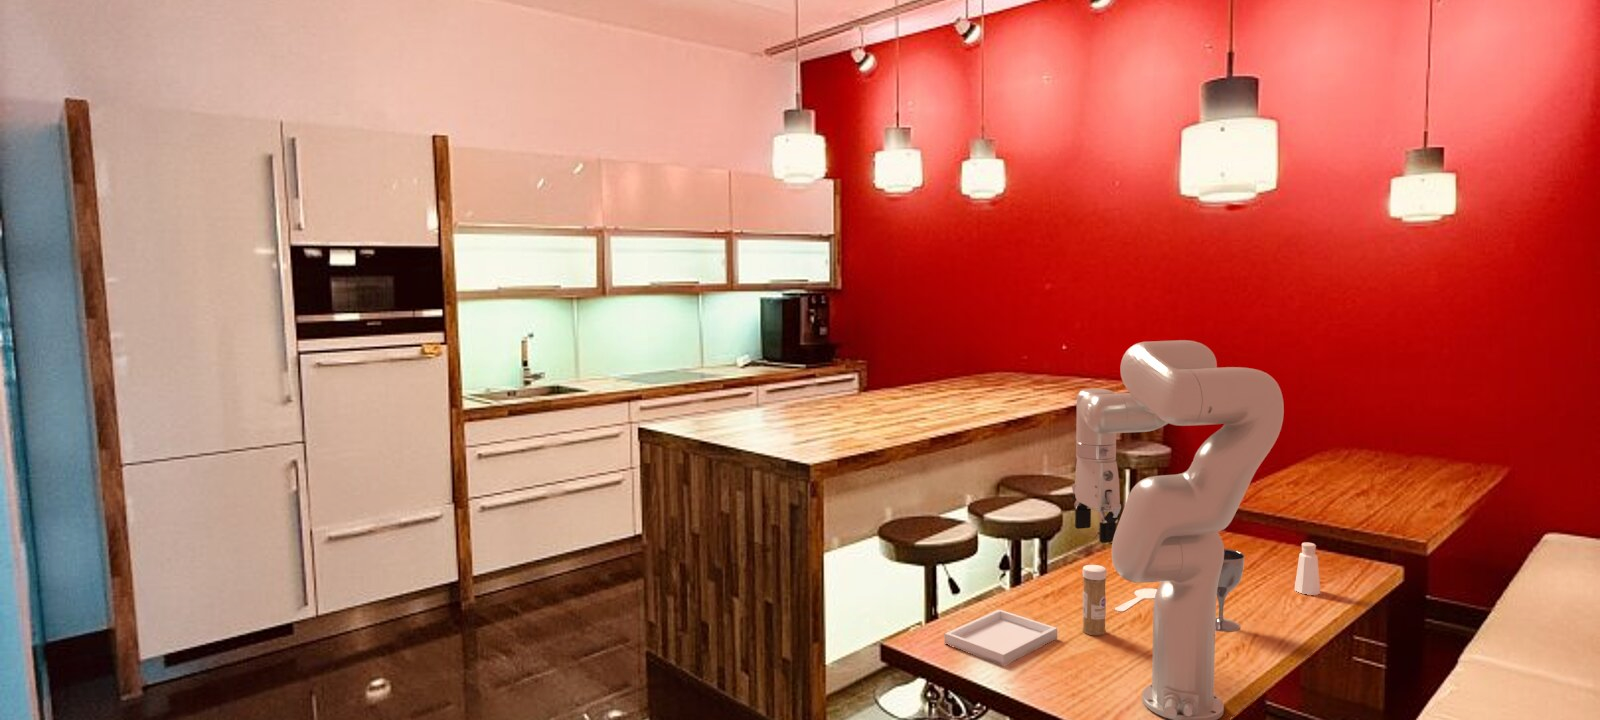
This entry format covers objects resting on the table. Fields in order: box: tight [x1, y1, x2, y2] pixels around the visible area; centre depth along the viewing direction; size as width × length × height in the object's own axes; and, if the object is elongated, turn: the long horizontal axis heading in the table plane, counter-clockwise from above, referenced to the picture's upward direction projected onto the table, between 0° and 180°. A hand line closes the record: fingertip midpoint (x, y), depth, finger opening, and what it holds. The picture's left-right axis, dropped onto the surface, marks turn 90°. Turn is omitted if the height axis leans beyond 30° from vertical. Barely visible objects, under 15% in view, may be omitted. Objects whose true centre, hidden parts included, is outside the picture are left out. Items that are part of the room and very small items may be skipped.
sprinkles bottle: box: [1082, 564, 1107, 637], centre depth 180 cm, size 5×5×14 cm
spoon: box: [1114, 587, 1158, 612], centre depth 197 cm, size 5×18×1 cm, turn 133°
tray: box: [944, 609, 1058, 667], centre depth 177 cm, size 18×14×2 cm
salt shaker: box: [1294, 541, 1321, 596], centre depth 200 cm, size 5×5×11 cm
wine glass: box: [1215, 547, 1245, 633], centre depth 182 cm, size 8×8×15 cm
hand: (1094, 534), depth 179 cm, fingers open, 9 cm apart
